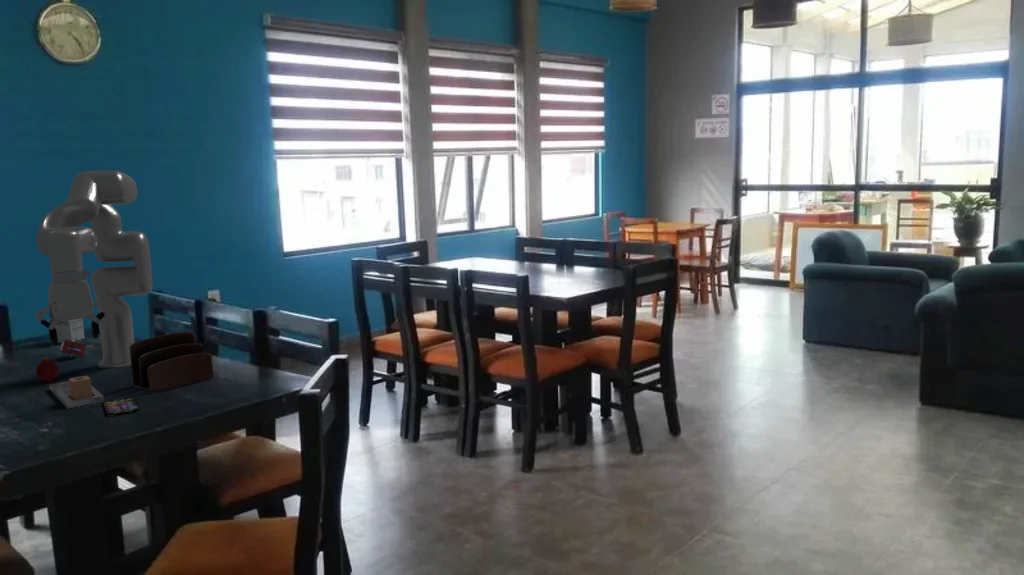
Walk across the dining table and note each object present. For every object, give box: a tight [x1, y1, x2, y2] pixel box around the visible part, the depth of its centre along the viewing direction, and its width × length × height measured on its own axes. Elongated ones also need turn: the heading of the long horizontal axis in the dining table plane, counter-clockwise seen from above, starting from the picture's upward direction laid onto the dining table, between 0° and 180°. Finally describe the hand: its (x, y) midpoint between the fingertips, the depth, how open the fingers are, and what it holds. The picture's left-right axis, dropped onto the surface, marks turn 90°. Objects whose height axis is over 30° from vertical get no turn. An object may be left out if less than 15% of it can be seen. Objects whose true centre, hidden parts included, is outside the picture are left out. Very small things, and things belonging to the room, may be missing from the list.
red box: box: [60, 337, 88, 359], centre depth 277 cm, size 7×7×8 cm
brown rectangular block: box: [68, 375, 92, 400], centre depth 223 cm, size 4×4×6 cm
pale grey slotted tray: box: [49, 380, 105, 410], centre depth 229 cm, size 9×24×2 cm, turn 38°
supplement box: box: [55, 318, 85, 344], centre depth 302 cm, size 7×7×13 cm
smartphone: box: [103, 396, 140, 416], centre depth 218 cm, size 8×1×15 cm
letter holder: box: [130, 331, 215, 392], centre depth 240 cm, size 10×20×14 cm, turn 141°
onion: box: [35, 356, 60, 383], centre depth 244 cm, size 6×6×8 cm
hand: (75, 340), depth 221 cm, fingers open, 9 cm apart
